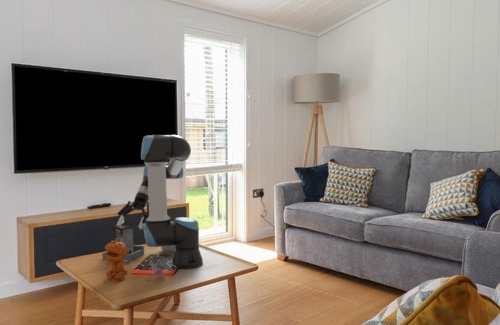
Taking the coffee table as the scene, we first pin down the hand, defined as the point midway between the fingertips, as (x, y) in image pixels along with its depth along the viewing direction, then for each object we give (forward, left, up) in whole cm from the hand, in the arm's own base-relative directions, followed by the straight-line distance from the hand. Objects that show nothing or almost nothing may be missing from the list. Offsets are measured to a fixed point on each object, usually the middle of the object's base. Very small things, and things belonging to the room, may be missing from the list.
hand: (128, 227), depth 237 cm
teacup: (-18, -13, -15) cm, 27 cm away
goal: (-1, +6, -15) cm, 16 cm away
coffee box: (-1, +6, -14) cm, 16 cm away
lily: (-35, +31, -15) cm, 50 cm away
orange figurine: (-17, +36, -15) cm, 42 cm away
